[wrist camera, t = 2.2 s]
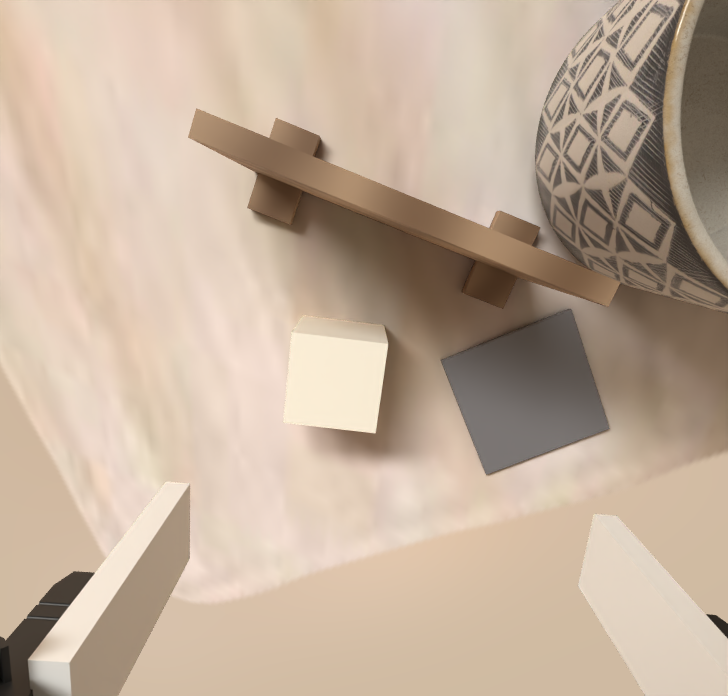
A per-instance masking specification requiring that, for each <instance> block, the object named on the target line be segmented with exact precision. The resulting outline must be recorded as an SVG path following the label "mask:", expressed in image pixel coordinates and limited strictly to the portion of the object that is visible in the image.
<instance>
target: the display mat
mask: <svg viewBox="0 0 728 696" xmlns="http://www.w3.org/2000/svg"><path fill="white" fill-rule="evenodd" d="M441 362H442V365H443V367H444V370H445V372H446V375H447V377H448V380H449V382H450V385H451V387H452V390H453V392H454V395H455V397H456V400H457V402H458V405H459V407H460V410H461V412H462V415H463V418H464V420H465V423H466V425H467V428H468V430H469V433H470V435H471V438H472V440H473V443H474V445H475V448H476V450H477V453H478V455H479V458H480V460H481V463H482V465H483V468H484V471H485V473H486V475H487V474H489V473H492V472H495V471H497V470H500V469H503V468H506V467H508V466H511V465H514V464H516V463H519V462H522V461H524V460H527V459H530V458H532V457H535V456H538V455H540V454H543V453H546V452H548V451H551V450H554V449H556V448H559V447H562V446H564V445H567V444H570V443H572V442H575V441H578V440H580V439H583V438H586V437H588V436H591V435H594V434H596V433H599V432H602V431H604V430H607V429H609V426H608V422H607V419H606V416H605V413H604V410H603V407H602V404H601V401H600V397H599V394H598V391H597V388H596V385H595V382H594V379H593V376H592V373H591V369H590V366H589V363H588V360H587V357H586V354H585V351H584V348H583V344H582V341H581V338H580V335H579V332H578V329H577V326H576V323H575V320H574V316H573V313H572V310H571V309H568V310H565V311H563V312H560V313H558V314H555V315H553V316H550V317H548V318H545V319H543V320H540V321H538V322H535V323H533V324H530V325H528V326H525V327H522V328H520V329H517V330H515V331H512V332H510V333H507V334H505V335H502V336H500V337H497V338H495V339H492V340H490V341H487V342H485V343H482V344H480V345H477V346H475V347H472V348H470V349H467V350H465V351H462V352H460V353H457V354H455V355H452V356H450V357H447V358H445V359H442V360H441Z"/></svg>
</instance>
